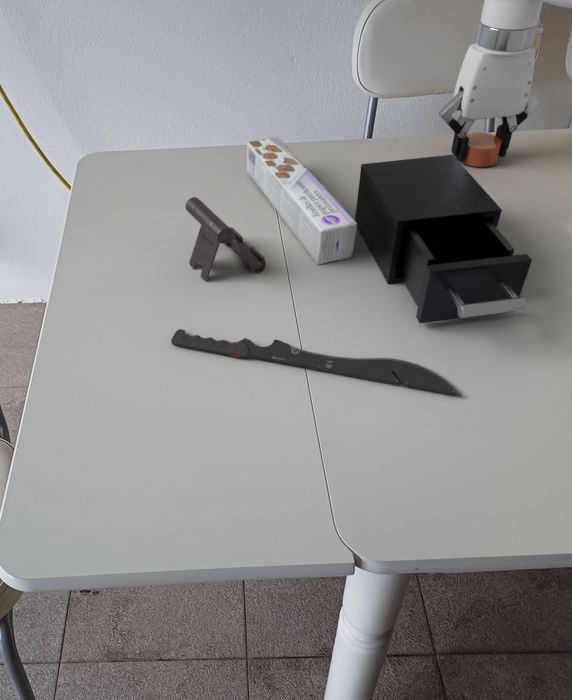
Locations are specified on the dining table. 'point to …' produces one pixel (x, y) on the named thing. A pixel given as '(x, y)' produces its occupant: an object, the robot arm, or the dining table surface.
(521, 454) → the dining table surface
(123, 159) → the dining table surface
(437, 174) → the cabinet
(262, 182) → the box
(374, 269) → the dining table surface
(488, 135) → the orange cylinder puck
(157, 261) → the dining table surface
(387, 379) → the knife
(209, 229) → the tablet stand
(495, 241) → the drawer
